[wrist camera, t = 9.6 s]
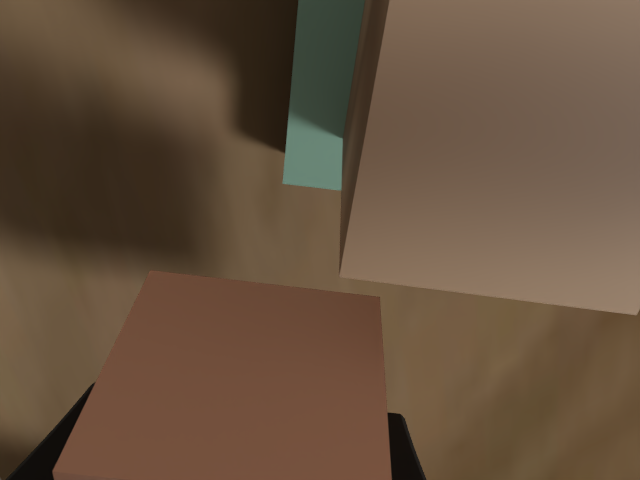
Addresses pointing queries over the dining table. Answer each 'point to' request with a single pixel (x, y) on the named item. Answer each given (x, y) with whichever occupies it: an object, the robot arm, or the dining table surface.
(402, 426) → the robot arm
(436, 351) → the dining table surface
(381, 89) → the walnut brick
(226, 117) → the dining table surface
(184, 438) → the terracotta brick
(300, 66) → the base plate
